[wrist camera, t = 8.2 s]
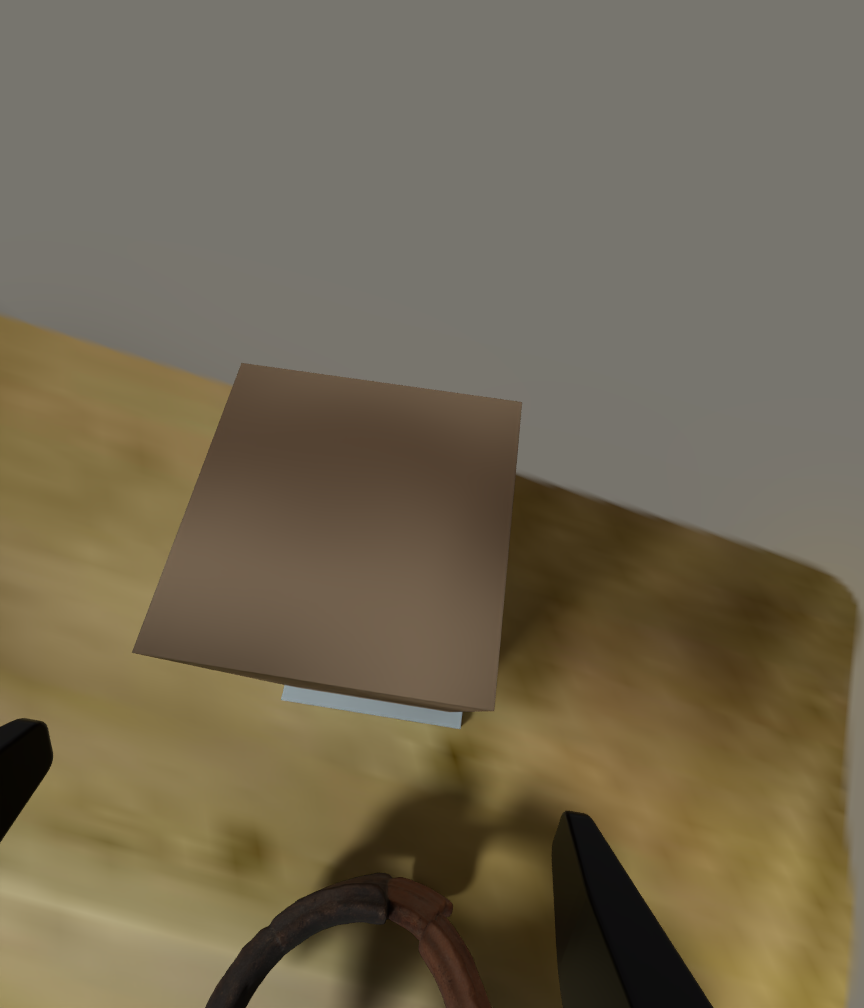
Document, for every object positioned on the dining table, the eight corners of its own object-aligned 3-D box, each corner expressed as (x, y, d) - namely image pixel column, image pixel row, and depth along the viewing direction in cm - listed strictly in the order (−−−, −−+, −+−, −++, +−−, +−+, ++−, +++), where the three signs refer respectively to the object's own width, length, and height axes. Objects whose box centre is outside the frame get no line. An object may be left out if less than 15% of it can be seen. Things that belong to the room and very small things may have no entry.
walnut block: (449, 712, 19) (494, 710, 8) (297, 687, 19) (132, 652, 8) (467, 563, 21) (522, 402, 10) (332, 543, 21) (241, 363, 10)
